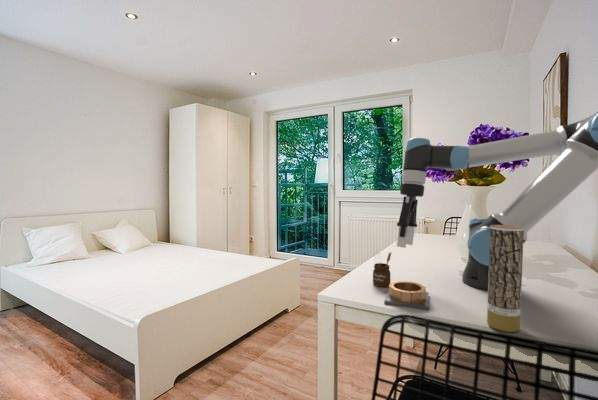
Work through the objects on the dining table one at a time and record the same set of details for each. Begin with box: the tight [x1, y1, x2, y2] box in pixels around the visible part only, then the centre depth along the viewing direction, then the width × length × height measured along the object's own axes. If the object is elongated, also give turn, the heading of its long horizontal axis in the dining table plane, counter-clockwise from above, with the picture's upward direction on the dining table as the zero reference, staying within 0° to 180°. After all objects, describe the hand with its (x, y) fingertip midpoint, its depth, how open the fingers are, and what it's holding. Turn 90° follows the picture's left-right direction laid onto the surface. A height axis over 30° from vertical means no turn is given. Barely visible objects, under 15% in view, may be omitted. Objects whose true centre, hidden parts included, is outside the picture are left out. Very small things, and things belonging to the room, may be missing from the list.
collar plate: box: [383, 280, 429, 311], centre depth 94 cm, size 12×12×4 cm
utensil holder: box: [372, 252, 392, 288], centre depth 107 cm, size 6×6×12 cm
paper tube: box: [486, 225, 524, 333], centre depth 75 cm, size 7×7×25 cm
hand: (405, 245), depth 105 cm, fingers open, 13 cm apart
